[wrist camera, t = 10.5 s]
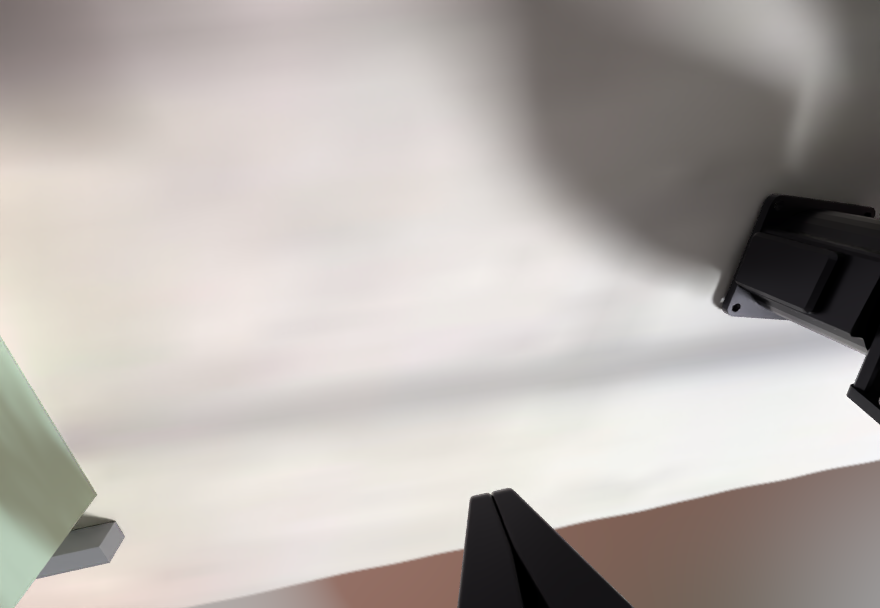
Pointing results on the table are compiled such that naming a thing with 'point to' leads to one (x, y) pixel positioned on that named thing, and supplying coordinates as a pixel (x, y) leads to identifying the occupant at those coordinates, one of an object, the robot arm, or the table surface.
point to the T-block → (32, 484)
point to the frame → (84, 549)
